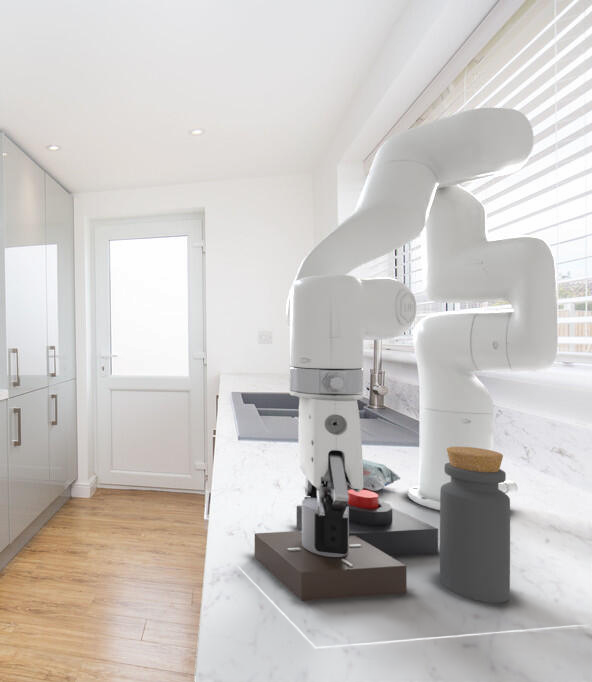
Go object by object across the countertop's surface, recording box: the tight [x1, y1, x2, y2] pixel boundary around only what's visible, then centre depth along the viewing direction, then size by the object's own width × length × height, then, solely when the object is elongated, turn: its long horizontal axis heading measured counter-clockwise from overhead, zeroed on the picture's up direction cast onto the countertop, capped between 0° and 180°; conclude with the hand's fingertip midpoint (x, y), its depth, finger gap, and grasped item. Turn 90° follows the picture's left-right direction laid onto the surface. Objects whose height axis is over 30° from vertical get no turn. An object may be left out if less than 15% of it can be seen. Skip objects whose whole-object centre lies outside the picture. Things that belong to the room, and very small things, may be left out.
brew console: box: [254, 530, 408, 602], centre depth 55 cm, size 12×10×3 cm
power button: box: [347, 488, 380, 509], centre depth 64 cm, size 4×4×2 cm
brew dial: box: [301, 498, 349, 557], centre depth 55 cm, size 5×5×5 cm
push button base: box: [296, 499, 439, 557], centre depth 64 cm, size 13×10×5 cm
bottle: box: [439, 447, 511, 604], centre depth 51 cm, size 6×6×15 cm
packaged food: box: [346, 459, 401, 492], centre depth 87 cm, size 9×12×5 cm
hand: (324, 539), depth 55 cm, fingers closed on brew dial, 4 cm apart
